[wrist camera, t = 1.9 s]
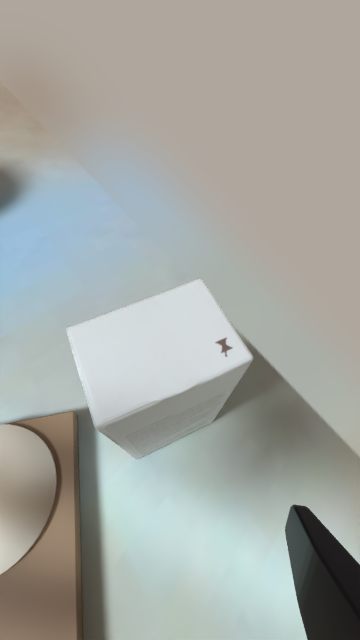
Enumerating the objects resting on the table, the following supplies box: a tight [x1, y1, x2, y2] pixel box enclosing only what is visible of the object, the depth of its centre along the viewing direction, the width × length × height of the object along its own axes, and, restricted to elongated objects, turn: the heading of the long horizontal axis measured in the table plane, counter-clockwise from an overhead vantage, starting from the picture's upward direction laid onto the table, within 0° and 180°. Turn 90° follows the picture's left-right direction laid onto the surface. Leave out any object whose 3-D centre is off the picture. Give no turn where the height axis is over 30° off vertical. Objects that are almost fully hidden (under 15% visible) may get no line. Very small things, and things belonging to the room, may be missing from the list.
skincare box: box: [66, 279, 254, 459], centre depth 16 cm, size 6×4×12 cm
